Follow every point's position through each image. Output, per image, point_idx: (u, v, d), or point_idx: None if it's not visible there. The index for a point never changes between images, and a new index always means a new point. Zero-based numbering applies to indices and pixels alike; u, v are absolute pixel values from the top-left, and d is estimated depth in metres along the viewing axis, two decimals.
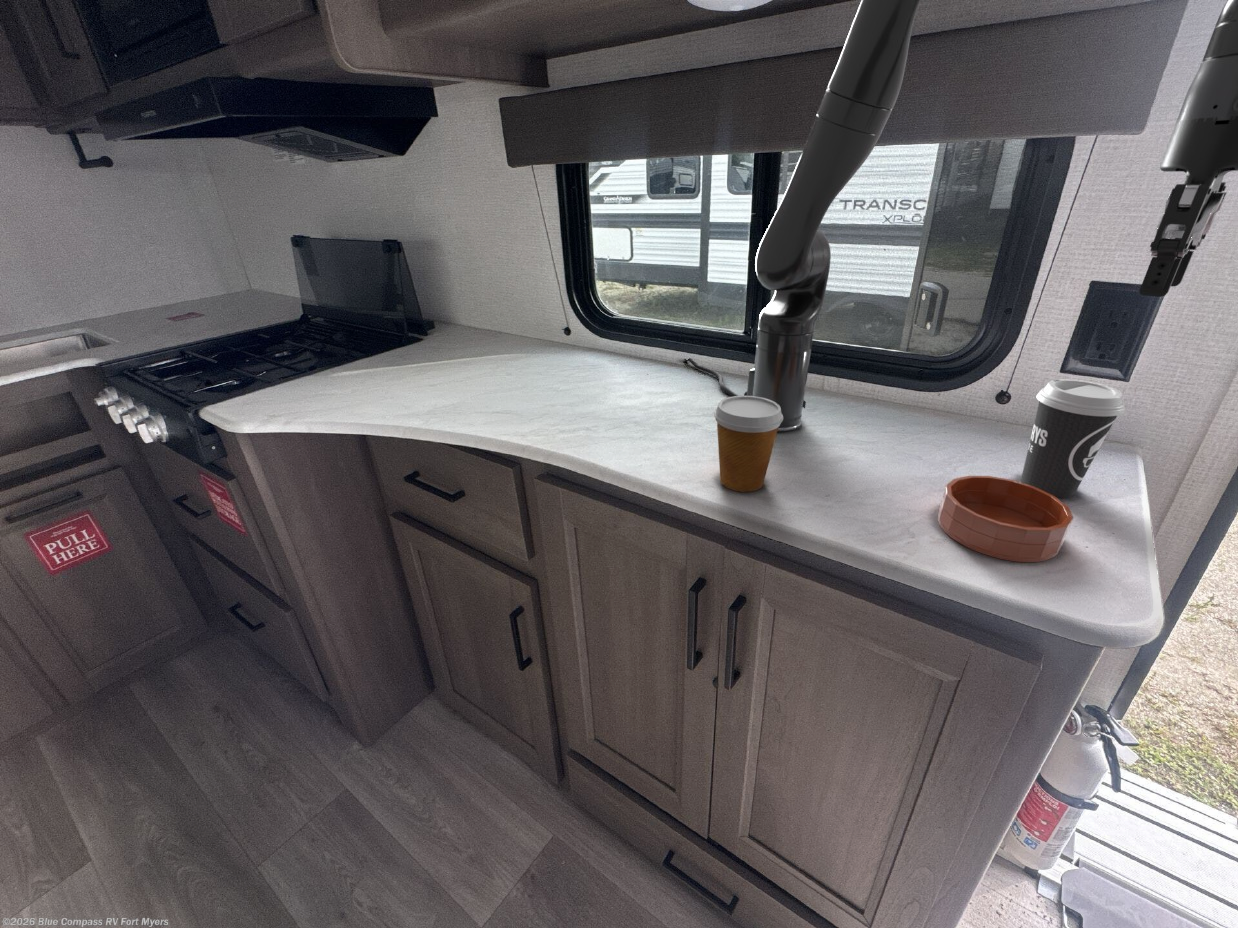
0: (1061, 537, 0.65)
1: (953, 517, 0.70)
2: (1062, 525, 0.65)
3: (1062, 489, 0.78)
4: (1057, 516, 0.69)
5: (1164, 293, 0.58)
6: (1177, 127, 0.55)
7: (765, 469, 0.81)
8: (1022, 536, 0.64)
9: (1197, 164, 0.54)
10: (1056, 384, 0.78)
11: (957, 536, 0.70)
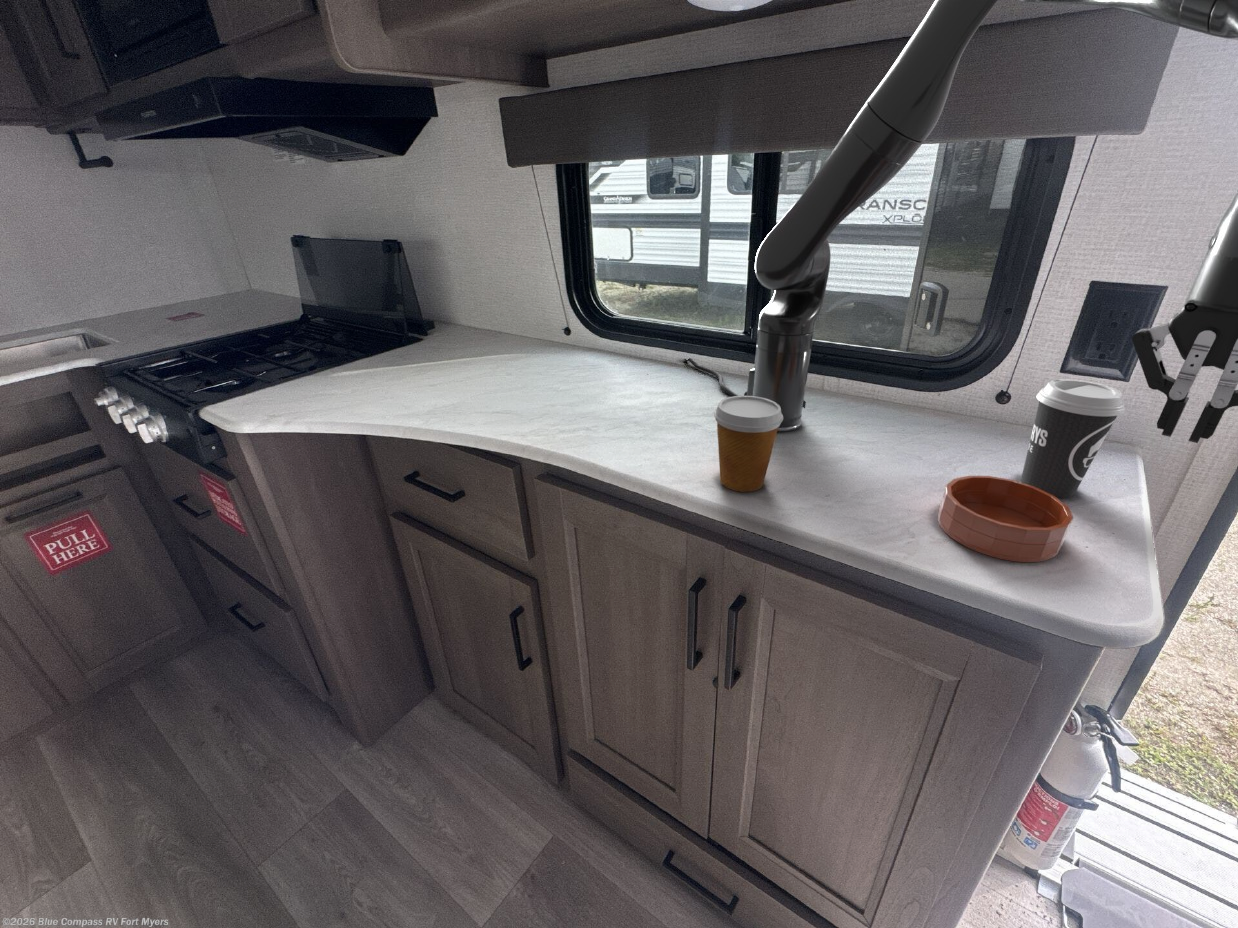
0: (1061, 537, 0.65)
1: (953, 517, 0.70)
2: (1062, 525, 0.65)
3: (1062, 489, 0.78)
4: (1057, 516, 0.69)
5: (1162, 432, 0.56)
6: None
7: (765, 469, 0.81)
8: (1022, 536, 0.64)
9: None
10: (1056, 384, 0.78)
11: (957, 536, 0.70)
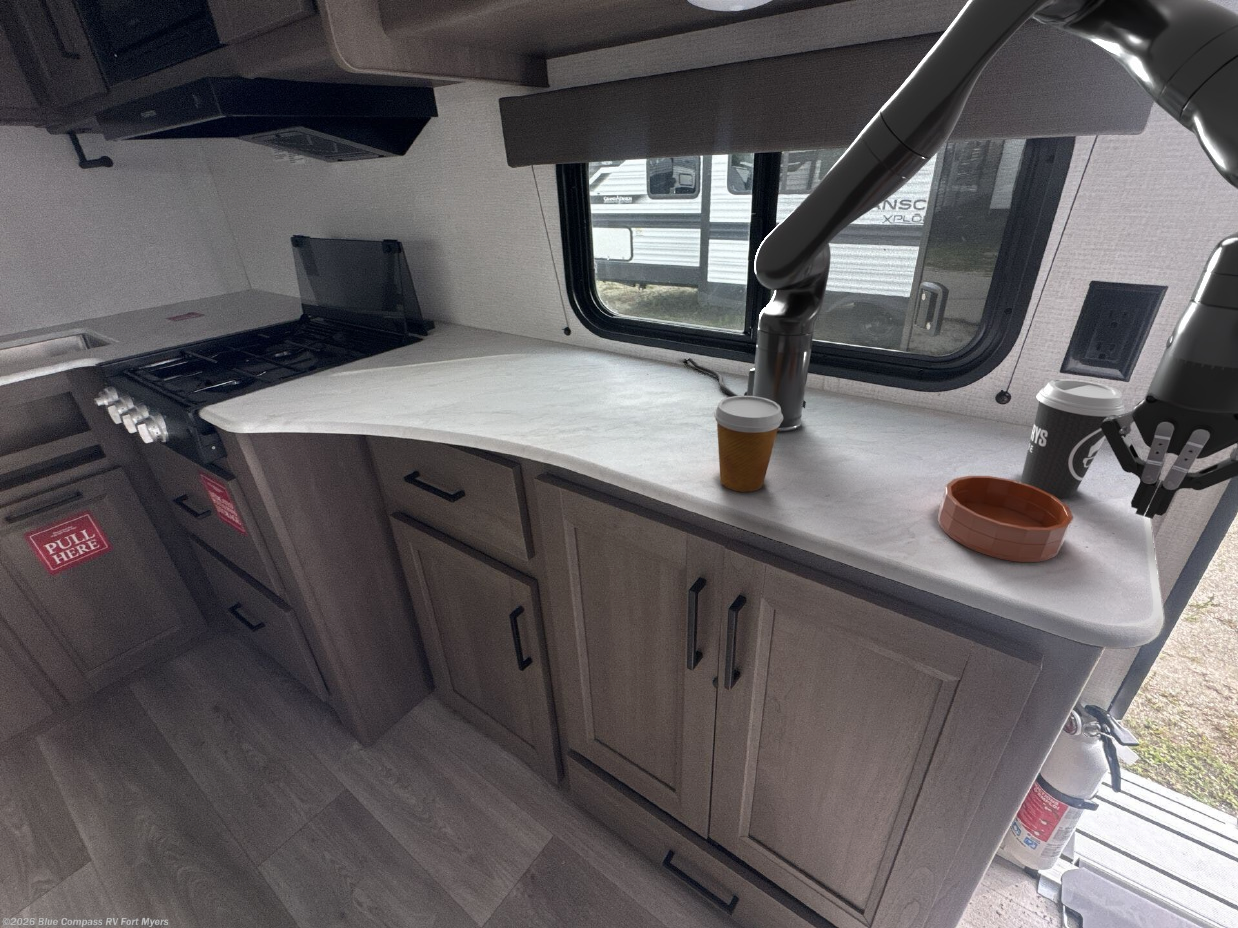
0: (1061, 537, 0.65)
1: (953, 517, 0.70)
2: (1062, 525, 0.65)
3: (1062, 489, 0.78)
4: (1057, 516, 0.69)
5: (1136, 511, 0.60)
6: None
7: (765, 469, 0.81)
8: (1022, 536, 0.64)
9: None
10: (1056, 384, 0.78)
11: (957, 536, 0.70)
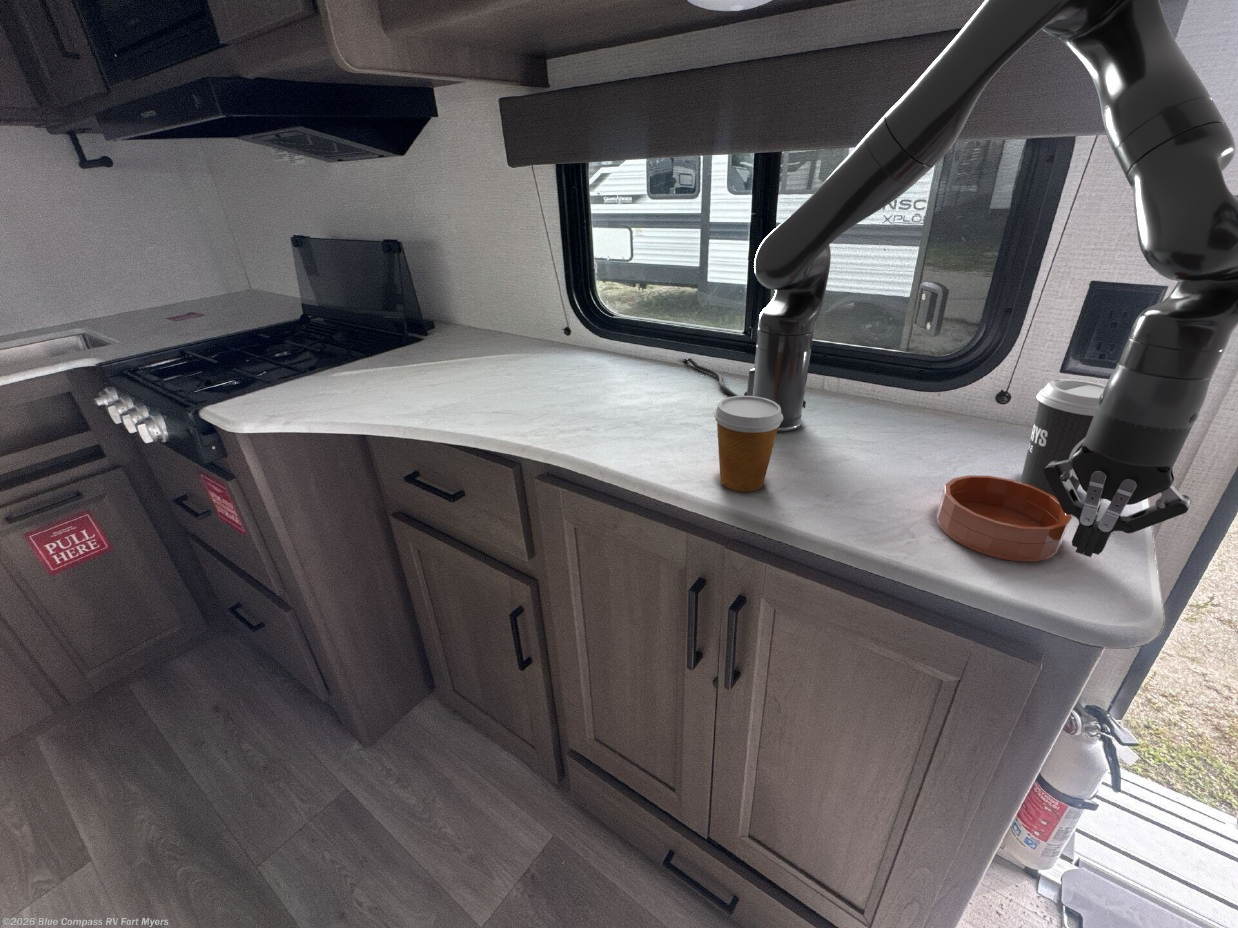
0: (1060, 536, 0.65)
1: (952, 517, 0.70)
2: (1060, 524, 0.65)
3: None
4: (1056, 516, 0.69)
5: (1076, 549, 0.65)
6: None
7: (765, 469, 0.81)
8: (1020, 535, 0.65)
9: None
10: (1056, 384, 0.78)
11: (955, 535, 0.70)
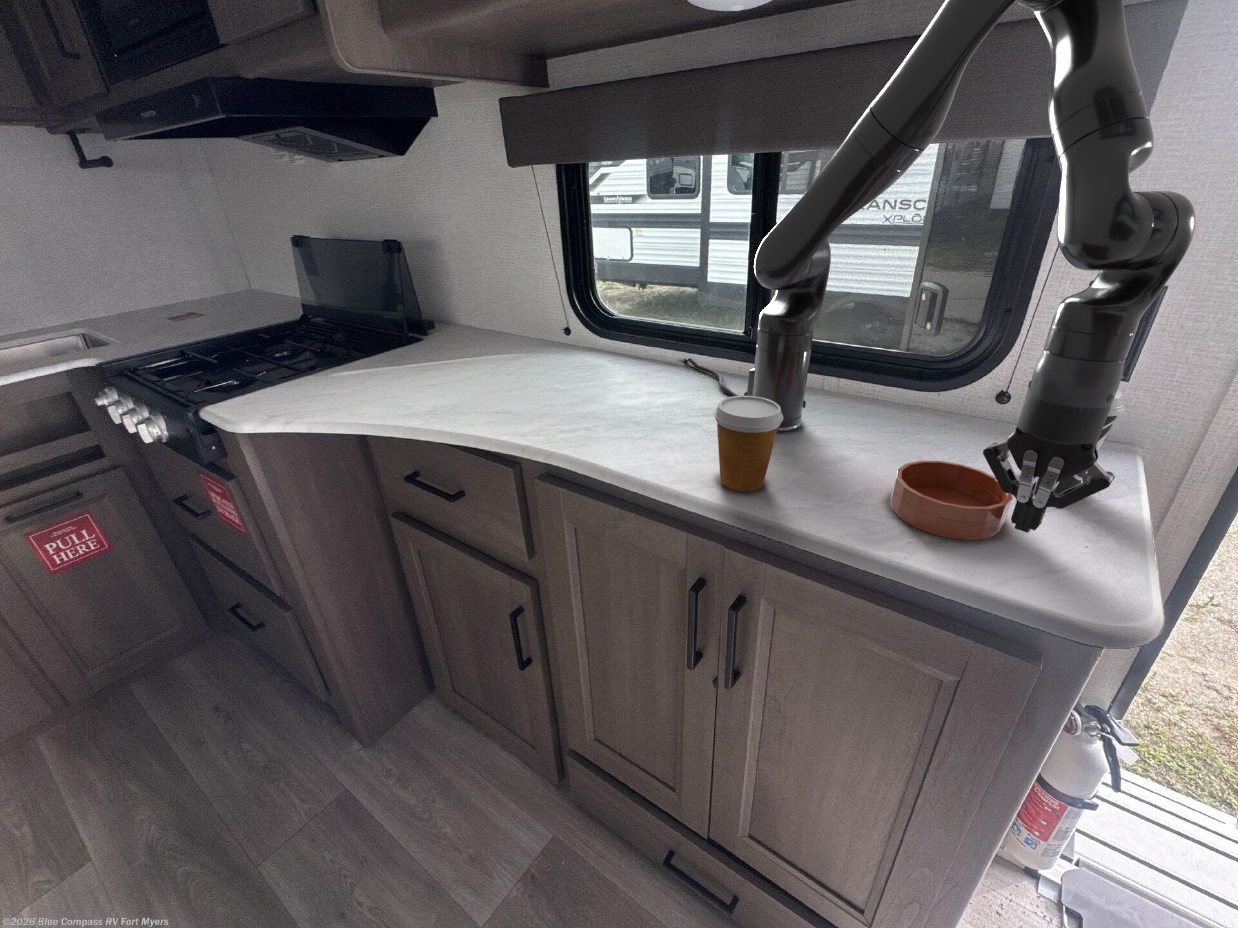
0: (1000, 516, 0.69)
1: (902, 498, 0.74)
2: (1000, 504, 0.69)
3: (1062, 489, 0.78)
4: (1000, 497, 0.73)
5: (1015, 526, 0.69)
6: None
7: (765, 469, 0.81)
8: (963, 515, 0.69)
9: None
10: None
11: (905, 516, 0.74)
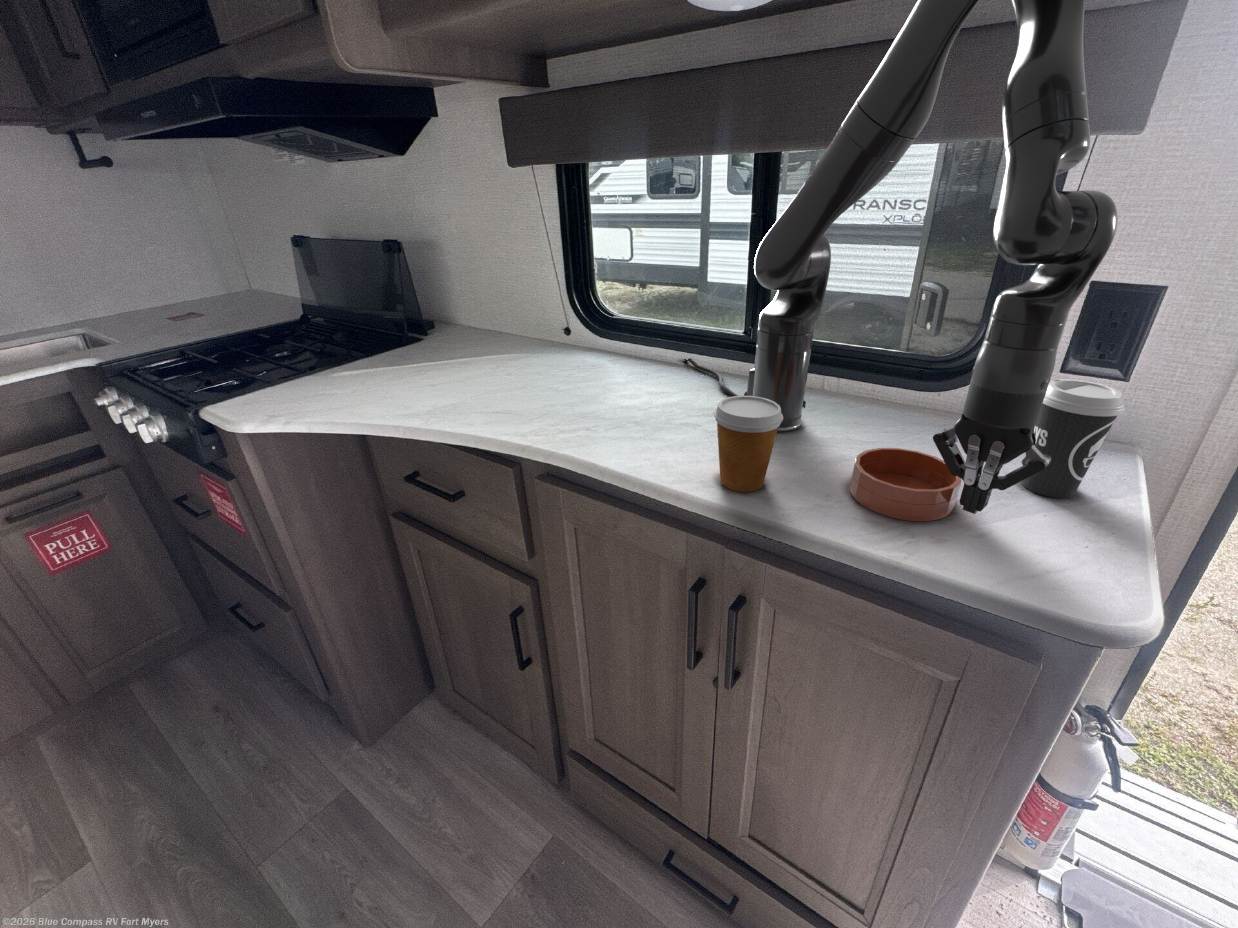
0: (949, 498, 0.73)
1: (859, 483, 0.78)
2: (949, 487, 0.73)
3: (1062, 489, 0.78)
4: (951, 482, 0.77)
5: (963, 508, 0.73)
6: None
7: (765, 469, 0.81)
8: (913, 497, 0.72)
9: None
10: (1056, 384, 0.78)
11: (862, 500, 0.78)
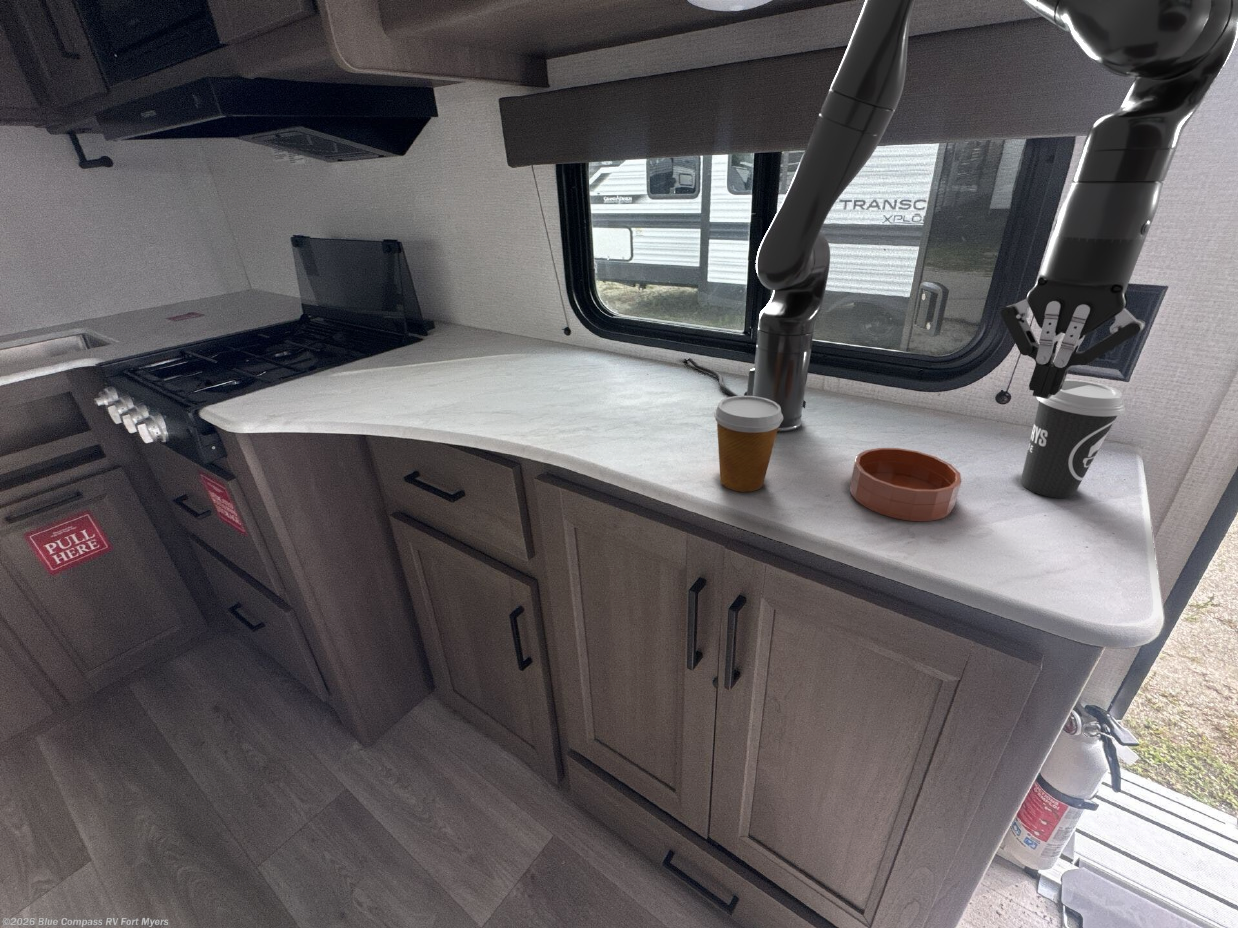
0: (949, 498, 0.73)
1: (858, 483, 0.78)
2: (949, 487, 0.73)
3: (1062, 489, 0.78)
4: (951, 482, 0.77)
5: (1033, 393, 0.64)
6: None
7: (765, 469, 0.81)
8: (913, 497, 0.72)
9: None
10: None
11: (862, 500, 0.78)
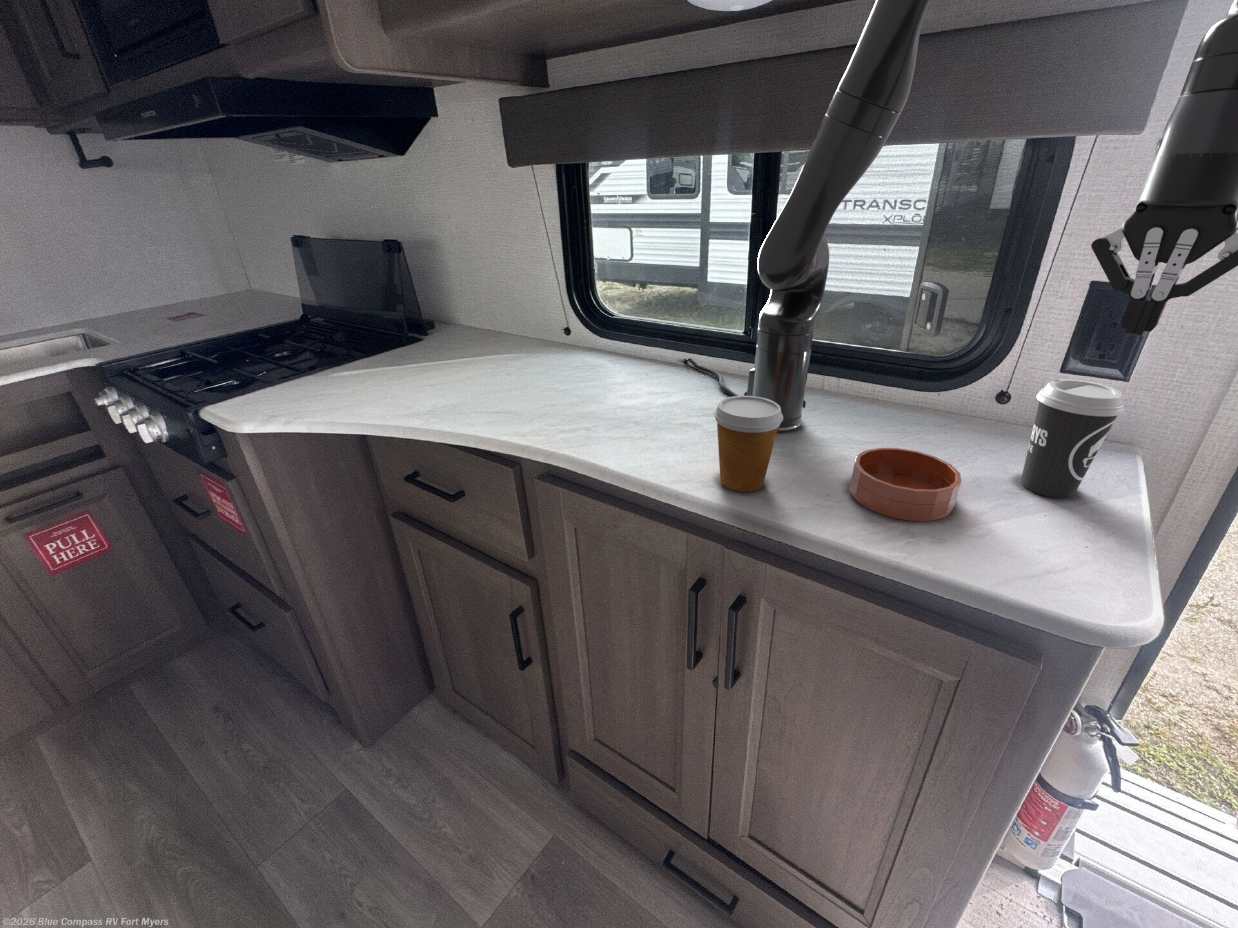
0: (949, 498, 0.73)
1: (858, 483, 0.78)
2: (949, 487, 0.73)
3: (1062, 489, 0.78)
4: (951, 482, 0.77)
5: (1126, 331, 0.60)
6: None
7: (765, 469, 0.81)
8: (913, 497, 0.72)
9: None
10: (1056, 384, 0.78)
11: (862, 500, 0.78)
